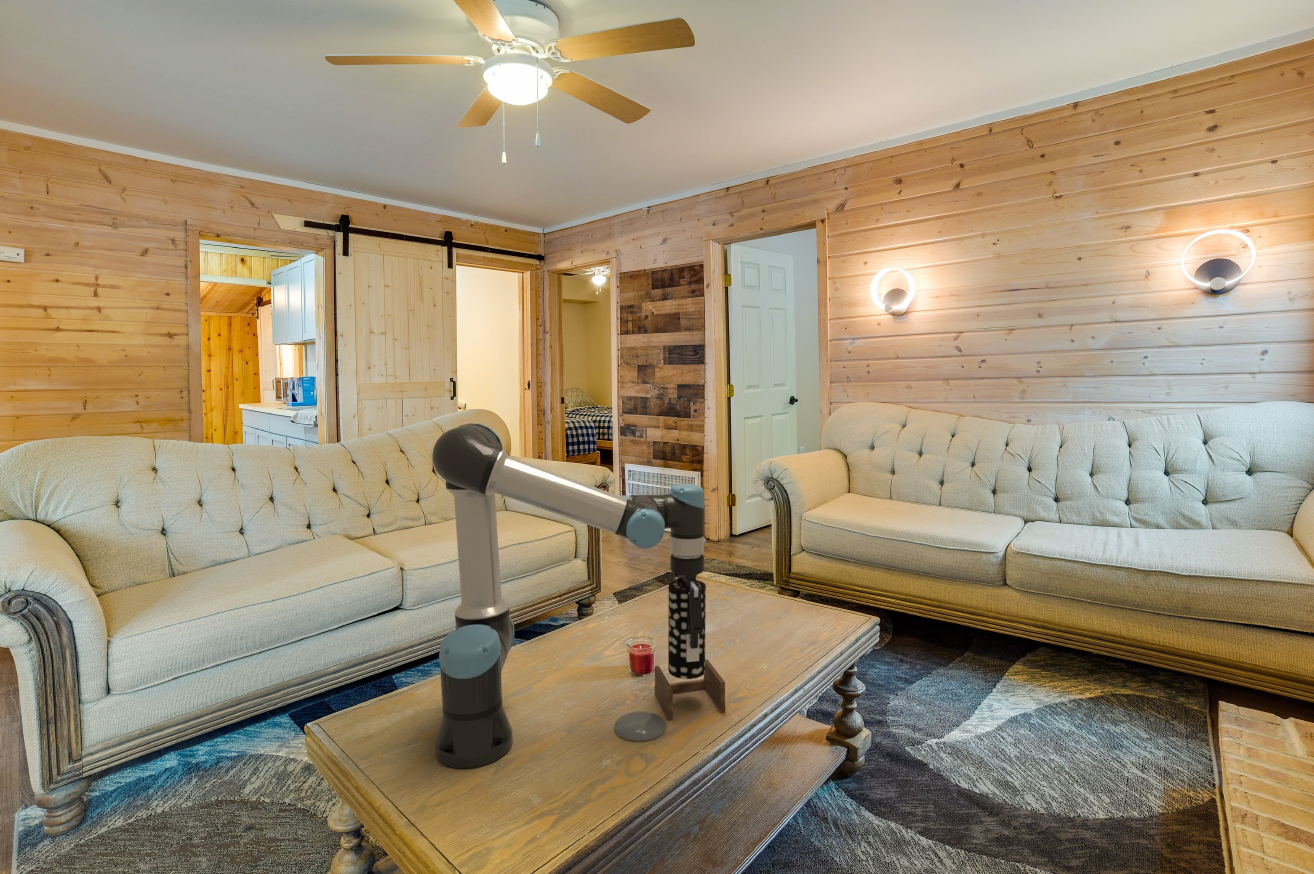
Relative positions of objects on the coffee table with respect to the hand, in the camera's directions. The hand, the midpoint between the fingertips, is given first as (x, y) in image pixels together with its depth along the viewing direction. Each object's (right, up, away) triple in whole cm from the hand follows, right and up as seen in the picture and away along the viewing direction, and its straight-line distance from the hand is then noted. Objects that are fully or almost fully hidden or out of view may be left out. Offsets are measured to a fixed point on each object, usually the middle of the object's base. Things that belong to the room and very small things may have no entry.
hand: (686, 652), depth 148 cm
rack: (+1, -12, +1) cm, 12 cm away
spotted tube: (0, -5, 0) cm, 5 cm away
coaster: (-10, -13, -9) cm, 19 cm away
